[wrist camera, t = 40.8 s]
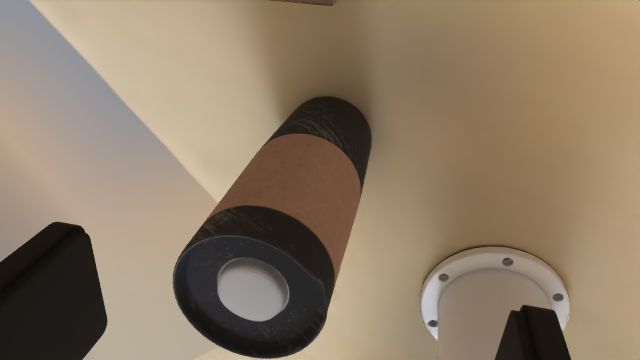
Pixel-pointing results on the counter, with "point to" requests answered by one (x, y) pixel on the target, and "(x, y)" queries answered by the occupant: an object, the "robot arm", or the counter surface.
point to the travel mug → (278, 236)
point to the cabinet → (312, 2)
